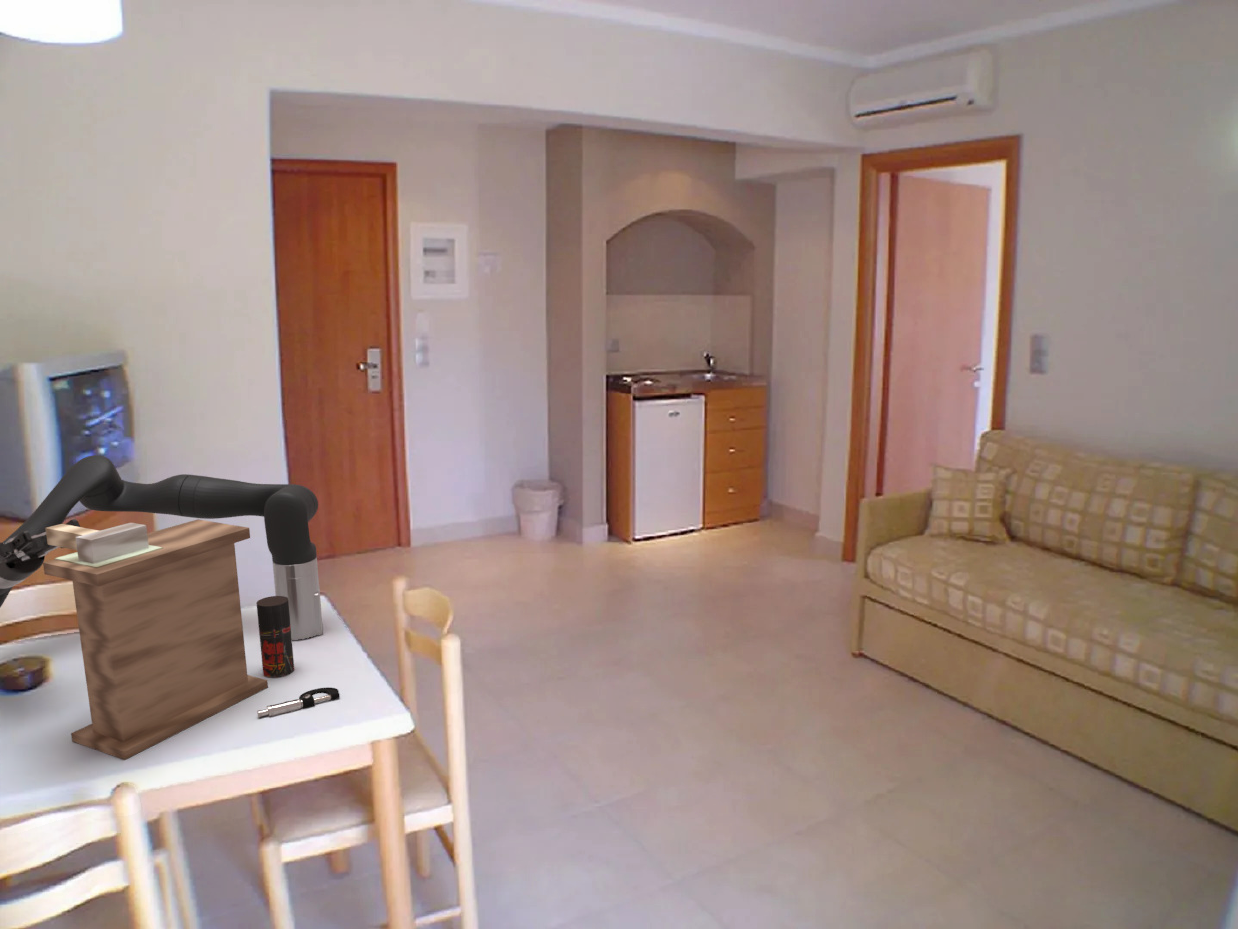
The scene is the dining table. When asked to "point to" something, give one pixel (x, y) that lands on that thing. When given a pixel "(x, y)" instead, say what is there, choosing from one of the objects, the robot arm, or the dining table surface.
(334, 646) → the dining table surface
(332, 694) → the micrometer
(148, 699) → the stand
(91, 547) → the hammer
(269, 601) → the deodorant
